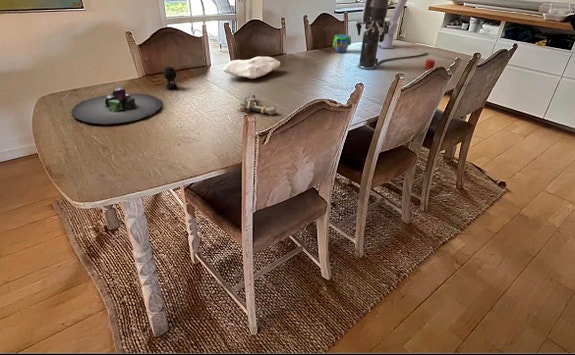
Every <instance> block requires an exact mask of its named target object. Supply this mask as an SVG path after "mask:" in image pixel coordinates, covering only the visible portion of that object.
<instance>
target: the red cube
mask: <svg viewBox="0 0 575 355" xmlns="http://www.w3.org/2000/svg"><path fill="white" fill-rule="evenodd" d="M435 63H436V60H435V59H430V58H428V59H426V60H425V64H424V69H426V70H432V69H431V68H433V67H434V66H435ZM434 68H435V67H434ZM434 68H433V69H434Z"/></svg>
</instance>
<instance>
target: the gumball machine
mask: <svg viewBox="0 0 575 355" xmlns="http://www.w3.org/2000/svg"><path fill="white" fill-rule="evenodd" d="M176 69H177V67H176V66H174V67H173V66H166V67H165V68H164V67H162V68H161V70H162V71H163V76H162V78H165V79H166V80H167V81H166V84H165V86H164V87H165V88H167V89H168V90H174V89H176V88H177V89H179V85H178V84H176V83H177V82H178V78H177V71H176Z"/></svg>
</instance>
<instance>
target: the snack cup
mask: <svg viewBox="0 0 575 355" xmlns="http://www.w3.org/2000/svg"><path fill="white" fill-rule="evenodd" d="M332 42H333V43H332V47H333V48H335V51H336V52H337V53H347V51H348V48H349V46H351V44H352V36H350V35H349V34H335V35H334V39H333V41H332Z"/></svg>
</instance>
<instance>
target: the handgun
mask: <svg viewBox="0 0 575 355" xmlns="http://www.w3.org/2000/svg"><path fill="white" fill-rule="evenodd" d="M239 106H240V108H239V109H240V111H243V112H244V113H250V112H256V113H261V114H264V113H266V114H268V115H270V116H272V115H275V113H276V111H277V108H276V107H275V106H271V107H268V106H267V105H257V102H256V94H253V93H246V94H245V95H244V103H240V105H239Z"/></svg>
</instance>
